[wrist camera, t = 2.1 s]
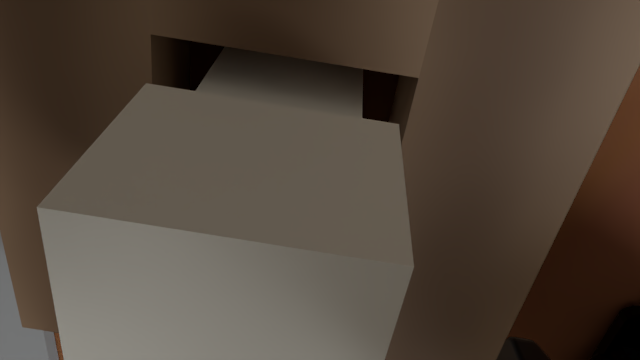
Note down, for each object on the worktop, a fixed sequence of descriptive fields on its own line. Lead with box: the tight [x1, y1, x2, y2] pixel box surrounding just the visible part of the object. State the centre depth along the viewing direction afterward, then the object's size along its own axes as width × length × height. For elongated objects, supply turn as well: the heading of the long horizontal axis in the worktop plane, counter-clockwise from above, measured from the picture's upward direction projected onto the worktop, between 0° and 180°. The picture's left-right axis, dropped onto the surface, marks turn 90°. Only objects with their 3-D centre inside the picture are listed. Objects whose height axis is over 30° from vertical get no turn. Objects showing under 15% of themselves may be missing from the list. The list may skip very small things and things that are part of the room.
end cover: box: [37, 47, 414, 360], centre depth 12 cm, size 5×5×8 cm
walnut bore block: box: [0, 0, 640, 360], centre depth 14 cm, size 14×14×3 cm
